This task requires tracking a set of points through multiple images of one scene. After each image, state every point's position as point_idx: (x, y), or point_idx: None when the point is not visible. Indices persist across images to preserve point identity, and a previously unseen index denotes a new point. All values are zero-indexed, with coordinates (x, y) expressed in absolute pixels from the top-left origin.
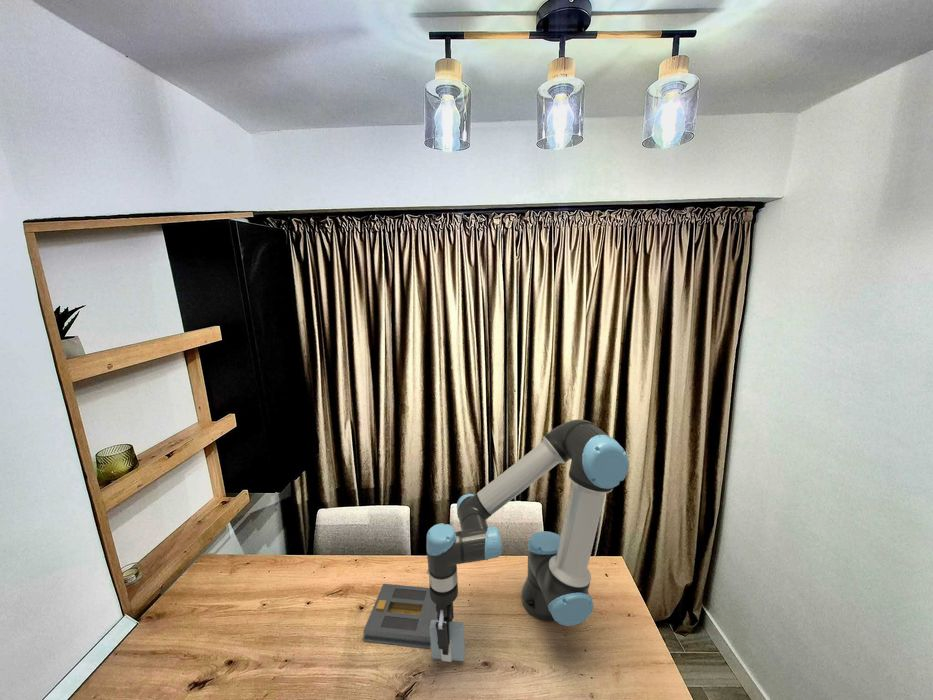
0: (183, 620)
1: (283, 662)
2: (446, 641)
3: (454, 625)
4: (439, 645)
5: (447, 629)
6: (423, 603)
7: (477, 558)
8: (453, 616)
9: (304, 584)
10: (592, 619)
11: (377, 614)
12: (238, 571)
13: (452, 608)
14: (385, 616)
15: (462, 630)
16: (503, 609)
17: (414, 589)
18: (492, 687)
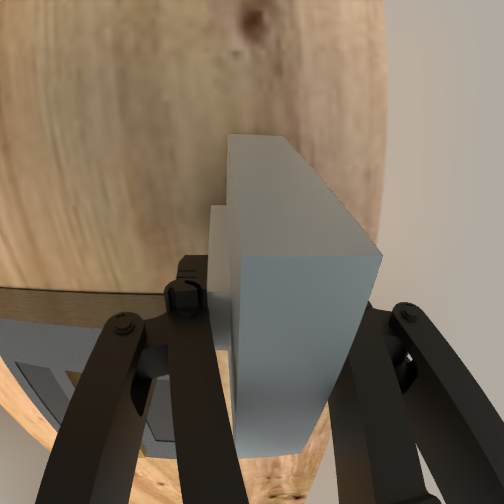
0: None
1: (272, 478)
2: (469, 376)
3: (293, 351)
4: (416, 375)
5: (405, 424)
6: (58, 368)
7: None
8: (124, 328)
9: (132, 487)
10: None
11: (158, 450)
12: None
13: (110, 422)
14: (155, 439)
15: (365, 250)
16: None
17: (32, 391)
18: (364, 3)
